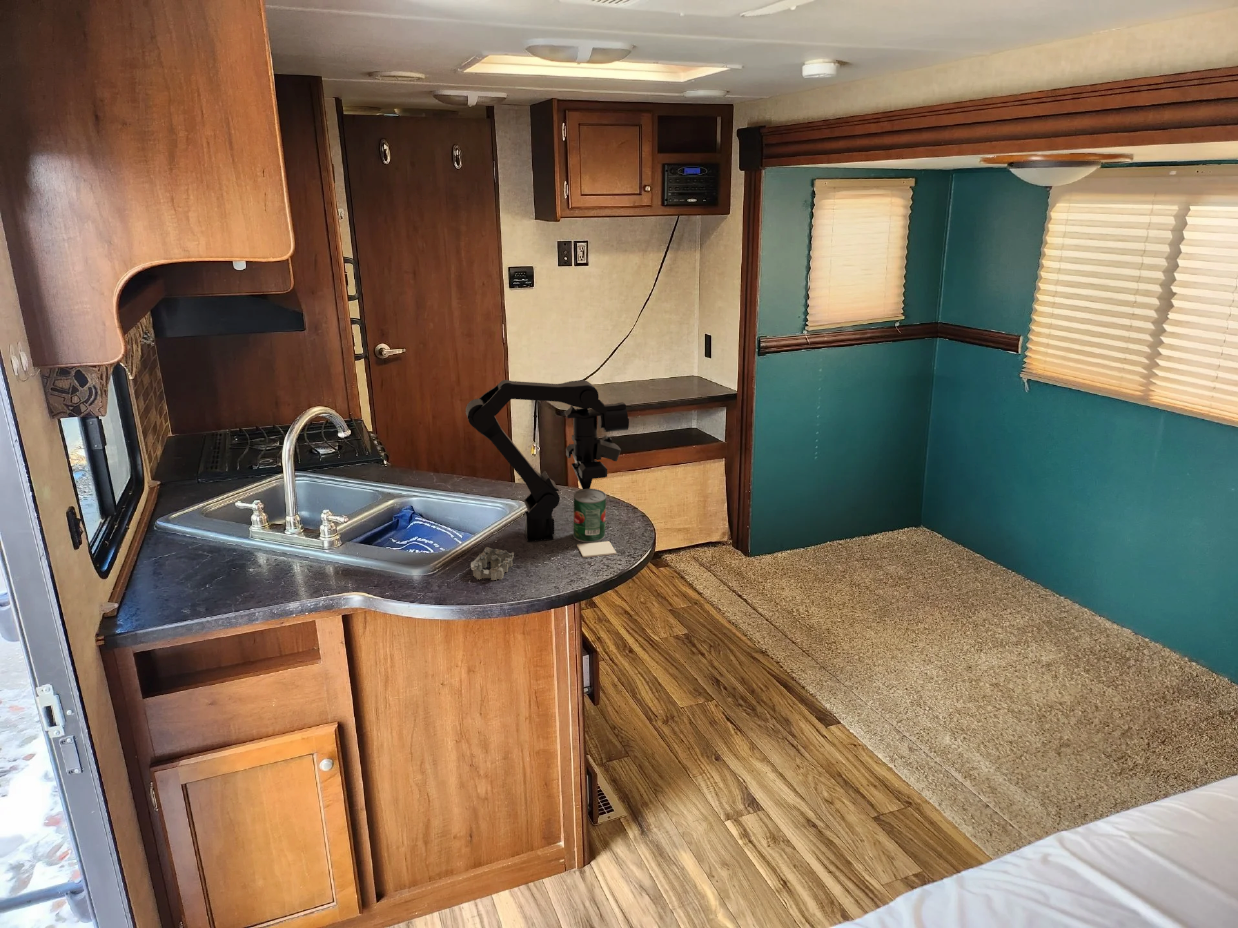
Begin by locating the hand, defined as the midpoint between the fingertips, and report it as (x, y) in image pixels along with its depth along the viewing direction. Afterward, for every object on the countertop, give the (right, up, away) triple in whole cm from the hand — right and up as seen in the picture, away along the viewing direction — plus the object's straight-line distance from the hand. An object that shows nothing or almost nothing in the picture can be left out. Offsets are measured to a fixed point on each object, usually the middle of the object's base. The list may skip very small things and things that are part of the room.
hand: (586, 493), depth 206 cm
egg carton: (-20, -17, -19) cm, 33 cm away
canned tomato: (+1, -11, 0) cm, 11 cm away
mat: (+3, -13, -8) cm, 16 cm away
